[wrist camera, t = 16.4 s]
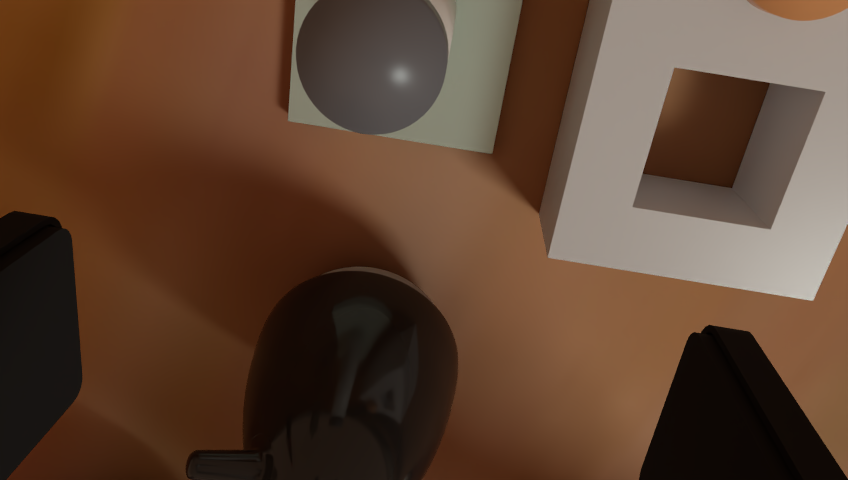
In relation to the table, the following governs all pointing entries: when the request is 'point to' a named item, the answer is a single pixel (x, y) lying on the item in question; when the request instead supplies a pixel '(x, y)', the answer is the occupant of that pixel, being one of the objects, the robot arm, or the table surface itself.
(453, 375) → the pump dispenser
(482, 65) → the mat
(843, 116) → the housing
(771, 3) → the plunger
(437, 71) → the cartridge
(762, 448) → the robot arm
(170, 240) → the table surface
